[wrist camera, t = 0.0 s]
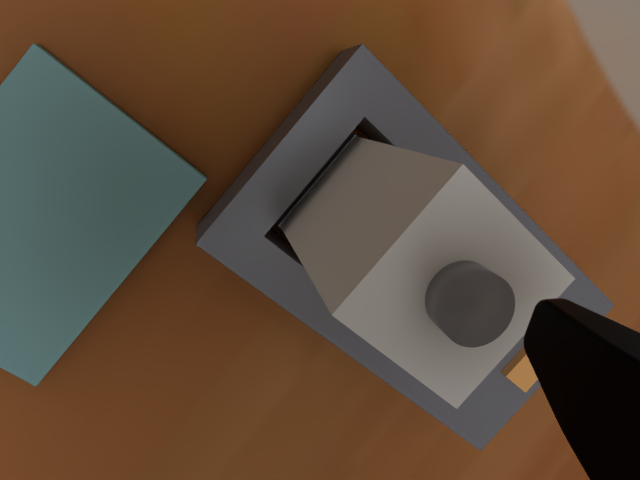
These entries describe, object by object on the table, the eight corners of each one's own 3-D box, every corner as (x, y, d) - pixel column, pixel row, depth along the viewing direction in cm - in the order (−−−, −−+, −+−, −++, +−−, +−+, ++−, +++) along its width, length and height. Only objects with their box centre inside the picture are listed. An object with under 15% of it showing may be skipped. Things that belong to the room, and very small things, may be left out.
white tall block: (351, 279, 25) (474, 433, 13) (273, 217, 23) (339, 333, 12) (419, 201, 24) (604, 291, 13) (345, 131, 23) (484, 166, 11)
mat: (40, 379, 23) (35, 386, 22) (-145, 279, 20) (-154, 285, 19) (206, 177, 22) (206, 179, 21) (38, 44, 19) (33, 42, 18)
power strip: (453, 415, 28) (484, 456, 25) (196, 225, 22) (195, 247, 19) (572, 284, 28) (621, 308, 24) (342, 50, 21) (366, 42, 18)
